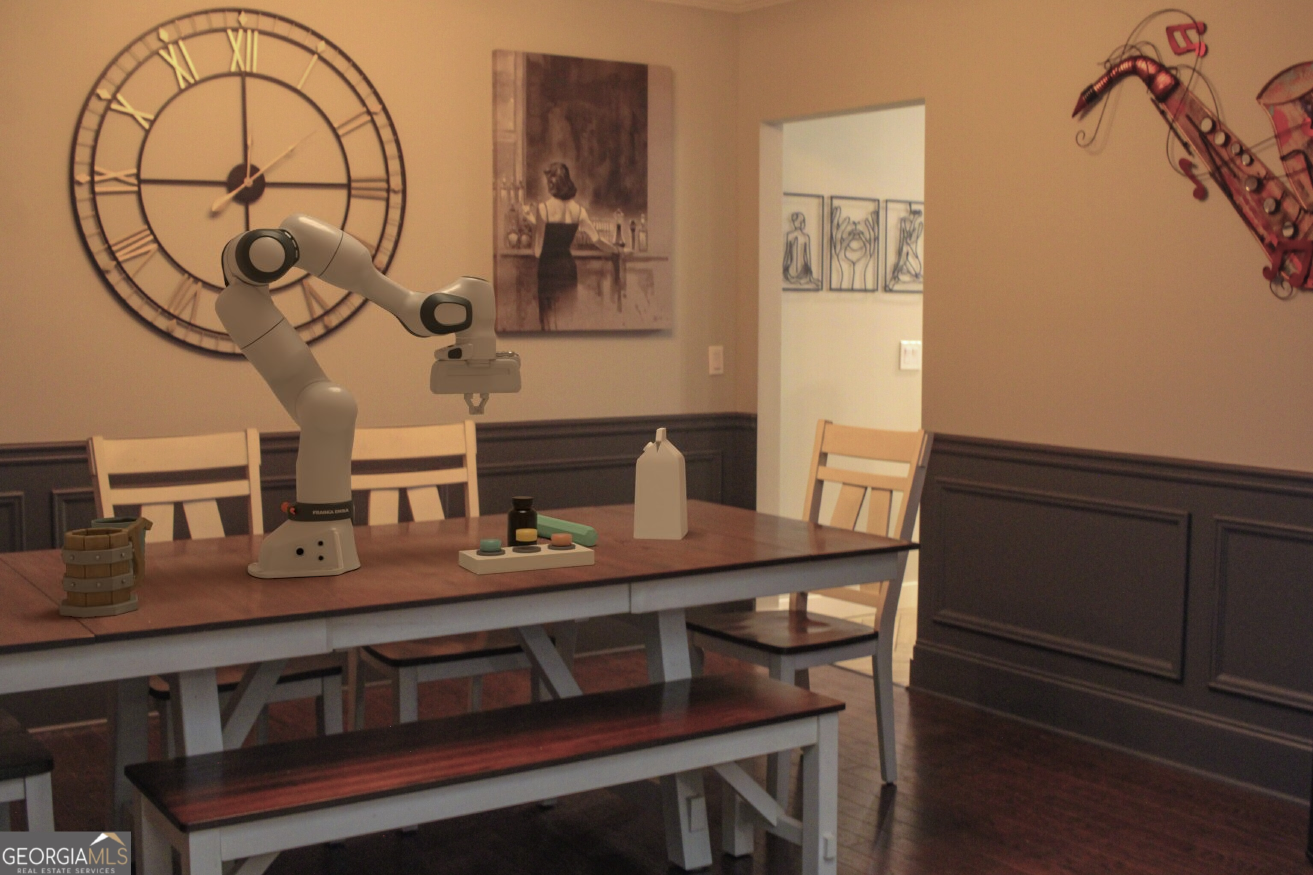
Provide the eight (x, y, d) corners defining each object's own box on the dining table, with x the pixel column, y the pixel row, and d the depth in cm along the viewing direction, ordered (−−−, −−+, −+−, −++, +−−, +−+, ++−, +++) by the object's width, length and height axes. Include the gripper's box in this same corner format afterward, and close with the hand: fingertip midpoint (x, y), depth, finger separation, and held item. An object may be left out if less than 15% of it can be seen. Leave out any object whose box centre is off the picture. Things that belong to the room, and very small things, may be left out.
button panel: (477, 574, 260) (477, 557, 260) (458, 565, 270) (458, 548, 270) (594, 564, 272) (594, 547, 271) (571, 555, 282) (571, 539, 282)
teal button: (484, 552, 264) (484, 542, 264) (477, 549, 268) (477, 539, 268) (504, 550, 266) (504, 541, 266) (497, 547, 270) (497, 538, 270)
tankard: (99, 620, 218) (96, 533, 217) (43, 614, 223) (40, 528, 222) (182, 597, 237) (180, 517, 235) (129, 592, 241) (127, 513, 240)
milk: (681, 539, 305) (681, 431, 303) (633, 538, 307) (633, 430, 304) (687, 531, 317) (688, 427, 314) (641, 530, 318) (642, 426, 316)
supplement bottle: (532, 552, 286) (532, 499, 285) (503, 551, 287) (502, 498, 286) (541, 547, 292) (541, 495, 291) (512, 546, 294) (512, 494, 293)
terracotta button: (556, 546, 271) (555, 537, 271) (548, 543, 275) (548, 534, 275) (575, 544, 273) (575, 535, 273) (566, 541, 277) (566, 532, 277)
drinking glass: (89, 585, 248) (87, 523, 247) (96, 575, 258) (95, 516, 257) (145, 582, 251) (144, 522, 250) (150, 573, 260) (149, 514, 259)
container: (598, 520, 295) (537, 507, 314) (578, 532, 291) (518, 518, 311) (605, 543, 296) (545, 528, 316) (586, 555, 293) (526, 539, 313)
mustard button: (520, 541, 268) (520, 532, 268) (513, 538, 272) (513, 529, 271) (540, 540, 270) (540, 530, 270) (532, 537, 274) (532, 528, 273)
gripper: (515, 351, 288) (515, 412, 289) (427, 351, 278) (427, 414, 280) (525, 351, 282) (526, 413, 283) (435, 351, 273) (436, 416, 274)
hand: (476, 414), depth 281 cm, fingers closed
